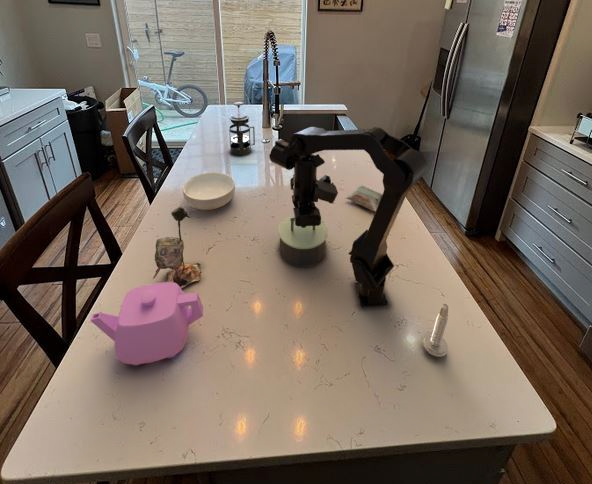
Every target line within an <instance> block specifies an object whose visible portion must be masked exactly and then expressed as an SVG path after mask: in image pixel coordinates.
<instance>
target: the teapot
mask: <svg viewBox="0 0 592 484" xmlns="http://www.w3.org/2000/svg"><path fill="white" fill-rule="evenodd" d="M189 306H190V308H189ZM203 316H204V305H203V303H202V300H201V298H200V295H199V292H198V291H195V292H190V293H185V292H184V291H183V288H180V287H179V286H178V284H177V283H173V282H166V281H164V282H155V283H149V284H145V285H140V286H137V287H134V288H132V289H130V290H128V291H127V292H126V293H125V295H124V297H123V300H122V304H121V306H120V310H119V314H118V316H117V315H113V314H109V313H105V312H102V311H100V312H95V313H92V315H91V317H90V322H91V323H92V324H94V325H95V326H96V327H97V328H98V329H99V330H100V331H101V332H103V334H105V335H107V336H108V338H110V339H111V340H112V341H113V342H114V351H115V352H114V353H115V357H116V358H117V360H118V361H119V362H121V363H122V364H127V365H132V366H139V365H141V364H142V365H143V364H149V363H155V362H158V361H161V360H164V359H166V358H167V359H172V358H175V356H177V354H178V353H180V352H181V351H182V350H183V349H184V348H185V346H186V345H185V344H186V343H187V339H188V333H189V327H190V325H191V324H193V323H195V322H197V321H198V320H199V319H201V318H203Z"/></svg>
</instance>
